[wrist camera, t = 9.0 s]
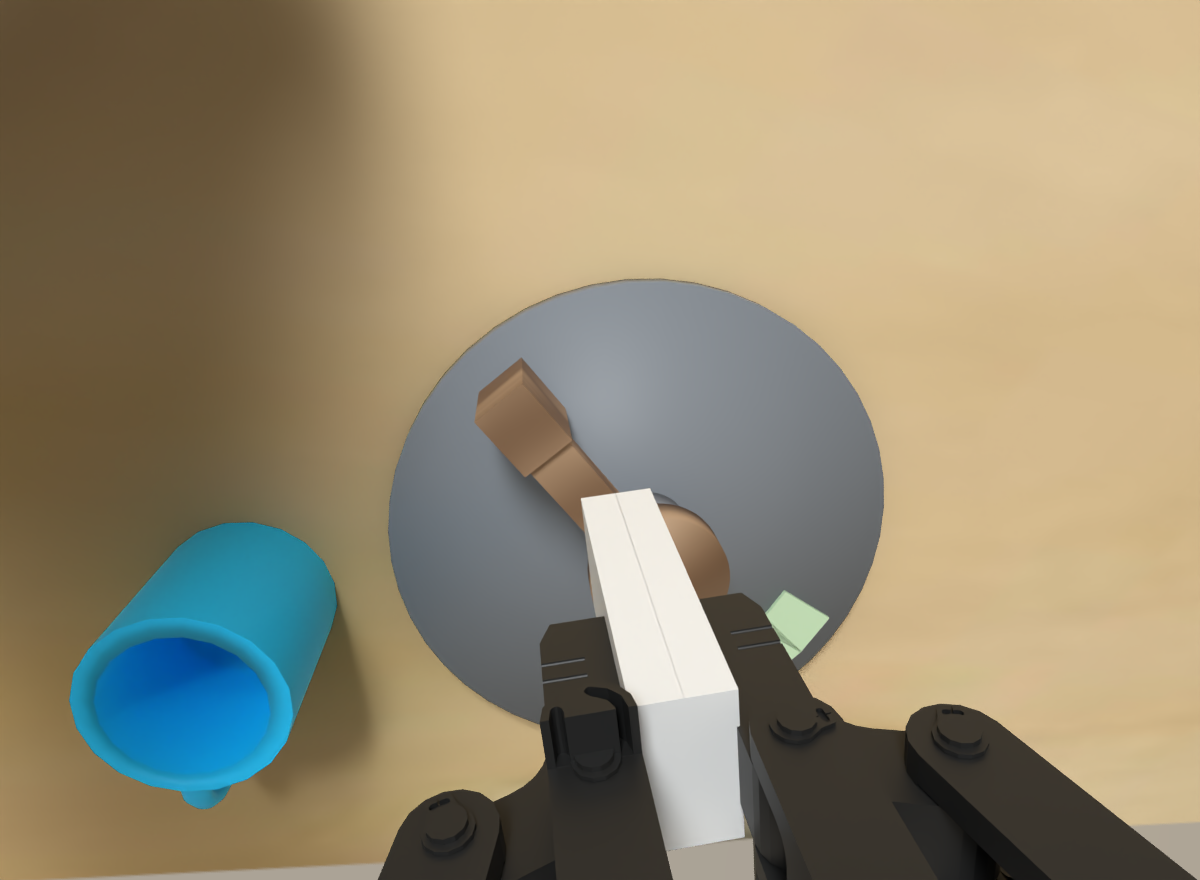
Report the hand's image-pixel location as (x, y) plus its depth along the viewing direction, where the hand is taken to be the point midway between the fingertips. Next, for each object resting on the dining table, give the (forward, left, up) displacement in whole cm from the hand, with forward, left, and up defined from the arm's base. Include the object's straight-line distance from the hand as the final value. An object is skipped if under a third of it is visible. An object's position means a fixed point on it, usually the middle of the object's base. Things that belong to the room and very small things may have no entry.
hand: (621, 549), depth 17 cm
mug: (+10, -18, -20) cm, 29 cm away
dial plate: (+9, +2, -19) cm, 22 cm away
